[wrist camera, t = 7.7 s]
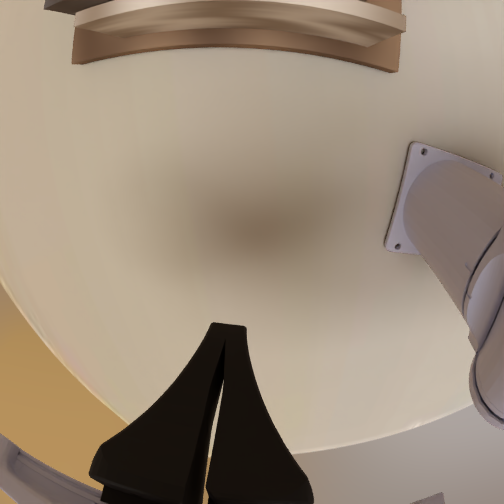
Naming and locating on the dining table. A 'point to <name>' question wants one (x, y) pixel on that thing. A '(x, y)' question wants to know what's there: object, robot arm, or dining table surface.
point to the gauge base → (238, 27)
